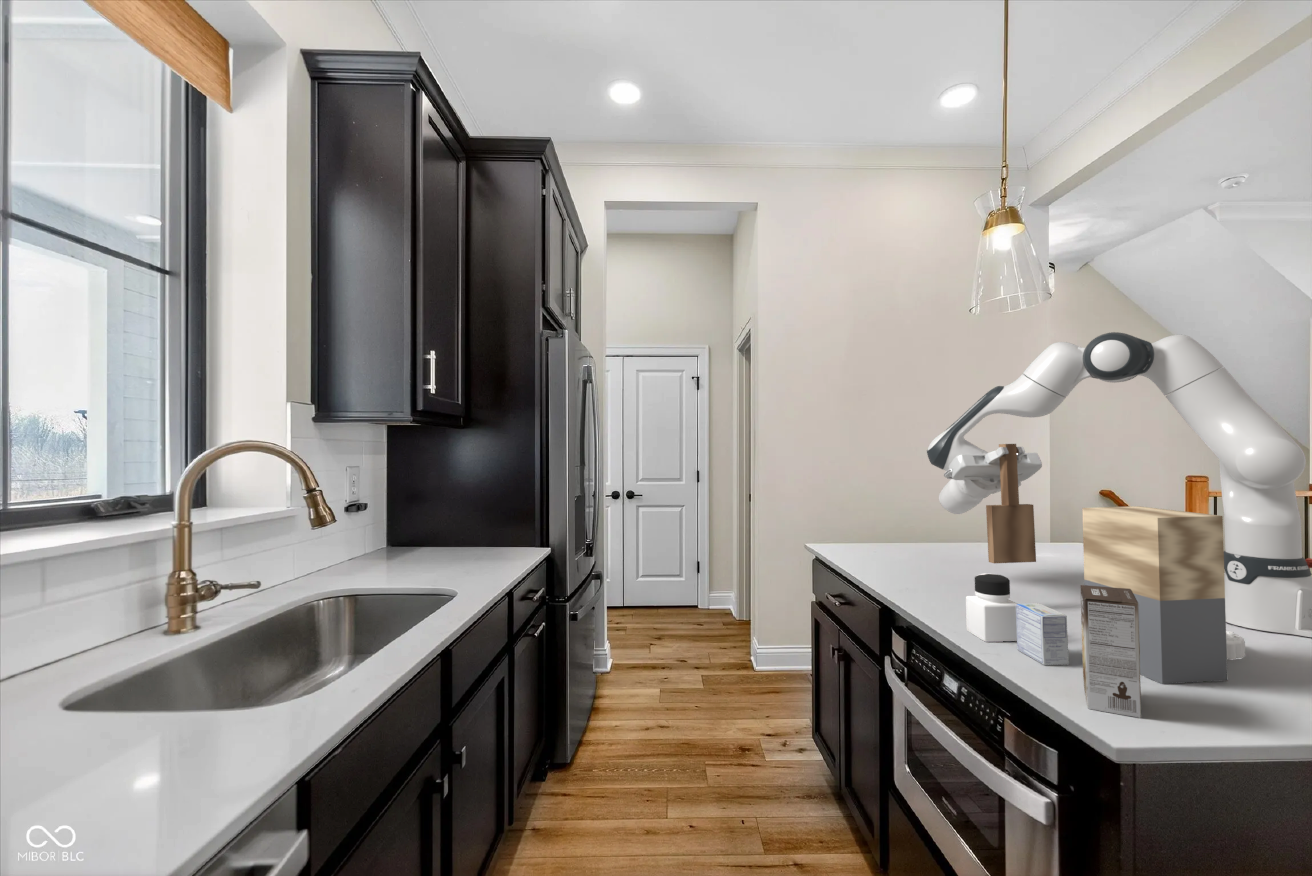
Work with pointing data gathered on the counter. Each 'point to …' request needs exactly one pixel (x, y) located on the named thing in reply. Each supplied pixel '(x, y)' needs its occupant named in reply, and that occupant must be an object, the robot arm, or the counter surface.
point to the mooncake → (1234, 645)
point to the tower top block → (1155, 552)
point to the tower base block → (1181, 639)
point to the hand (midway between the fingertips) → (1013, 449)
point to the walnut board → (1010, 518)
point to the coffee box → (1111, 650)
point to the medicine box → (1042, 633)
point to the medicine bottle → (991, 609)
